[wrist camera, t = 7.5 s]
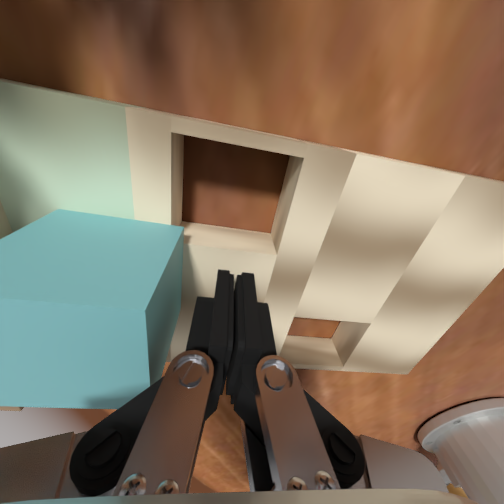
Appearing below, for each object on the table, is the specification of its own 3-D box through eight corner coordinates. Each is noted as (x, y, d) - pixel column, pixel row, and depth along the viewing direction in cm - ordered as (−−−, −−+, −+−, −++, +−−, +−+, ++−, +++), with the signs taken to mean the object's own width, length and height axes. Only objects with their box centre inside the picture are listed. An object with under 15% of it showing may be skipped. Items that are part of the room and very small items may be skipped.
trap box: (389, 346, 19) (437, 419, 15) (67, 323, 16) (-2, 410, 11) (512, 183, 12) (676, 223, 8) (-14, 75, 9) (-290, 31, 4)
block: (180, 308, 12) (151, 410, 8) (81, 299, 12) (-8, 406, 7) (184, 226, 10) (145, 310, 6) (58, 209, 9) (-96, 289, 5)
